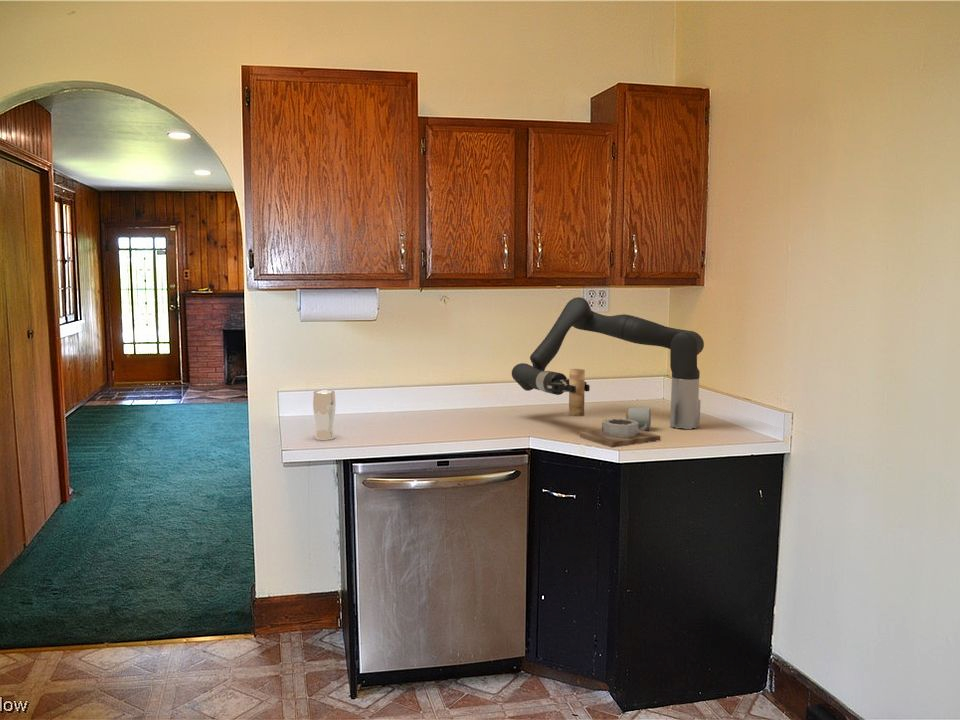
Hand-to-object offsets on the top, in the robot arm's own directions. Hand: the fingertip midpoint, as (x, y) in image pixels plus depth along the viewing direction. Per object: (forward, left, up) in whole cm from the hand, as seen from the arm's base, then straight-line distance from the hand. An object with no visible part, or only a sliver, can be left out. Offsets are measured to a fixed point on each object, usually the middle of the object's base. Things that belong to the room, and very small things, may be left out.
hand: (581, 388), depth 258 cm
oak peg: (0, -3, -9) cm, 9 cm away
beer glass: (+75, -36, -16) cm, 84 cm away
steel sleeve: (-8, +10, -14) cm, 19 cm away
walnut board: (-8, +10, -15) cm, 20 cm away
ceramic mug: (-23, +2, -16) cm, 28 cm away
